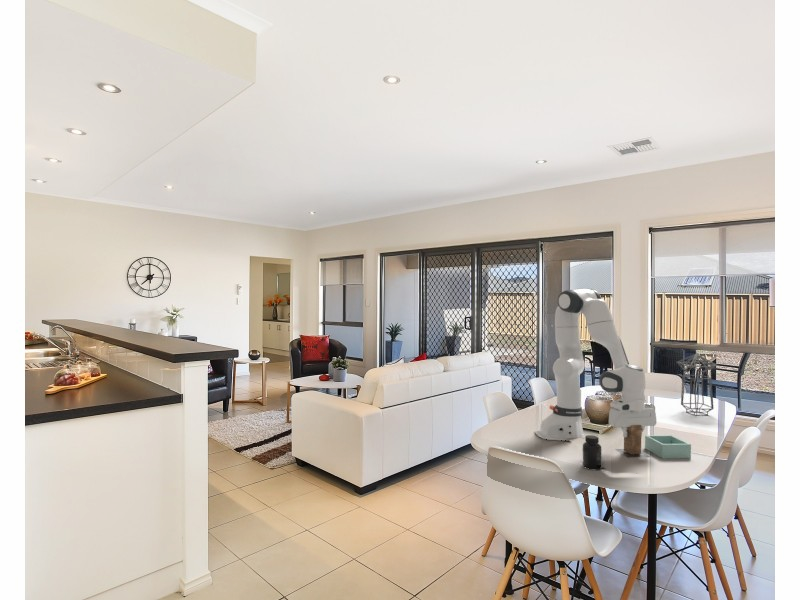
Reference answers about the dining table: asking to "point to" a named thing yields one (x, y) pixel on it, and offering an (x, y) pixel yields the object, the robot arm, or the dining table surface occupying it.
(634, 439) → the walnut strut
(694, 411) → the geometric lantern
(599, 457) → the supplement bottle
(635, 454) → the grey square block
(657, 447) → the sage bin
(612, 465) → the dining table surface
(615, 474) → the dining table surface
